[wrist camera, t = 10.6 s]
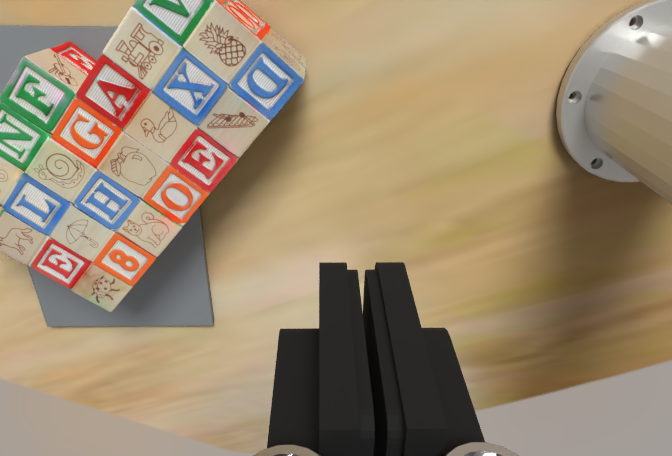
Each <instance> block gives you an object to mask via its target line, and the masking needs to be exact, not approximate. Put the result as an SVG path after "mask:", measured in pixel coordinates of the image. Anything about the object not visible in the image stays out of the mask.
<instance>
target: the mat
mask: <svg viewBox="0 0 672 456" xmlns="http://www.w3.org/2000/svg"><path fill="white" fill-rule="evenodd" d="M117 28H118V27H96V26H12V25H0V96H1V94H2V92H3V90H4V89H5V87H6V85H7V84H8V82H9V80H10V78H11V77H12V75H13V73H14V71H15V70H16V68H17V66H18V65H19V63H20V61H21V59H22V58H23V57H25V56H27V55H30V54H33V53H36V52H39V51H42V50H45V49H50V48H53V47H56V46H58V45H61V44H63V43H66V42H68V41H70V42H72V43H74V44H75V45H76V46H78V47H79V48H80V49H82V50H83V51H84V52H86V53H87V54H88V55H90V56H91V57H92V58H94V59H95V60H96V61H97V60H98V59H99V57H100V56H101V55H102V53H103V50H104V48H105V47H106V45H107V43H108V42H109V40H110V39H111V37H112V36H113V34H114V32H115V31H116V29H117ZM27 266H28V269H29V272H30V275H31V278H32V281H33V284H34V287H35V290H36V293H37V296H38V299H39V302H40V306H41V309H42V312H43V315H44V318H45V321H46V324H47V327H58V326H213V323H214V316H213V308H212V300H211V292H210V284H209V277H208V269H207V261H206V253H205V245H204V237H203V230H202V222H201V214H200V206H199V208H198V209H197V210H196V211H195V212H194V213H193V215H192V216H191V217H190V218H189V220H188V221H187V222H186V224H185V225H184V226H183V227H182V229H181V230H180V231H179V232H178V234H177V235H176V236H175V237H174V238H173V239H172V241H171V242H170V243H169V244H168V245H167V247H166V248H165V249H164V250H163V251H162V253H161V254H160V255H159V256H158V257H157V258H156V260H155V261H154V262H153V264H152V265H151V266H150V267H149V268H148V270H147V271H146V272H145V273H144V274H143V276H142V277H141V278H140V279H139V280H138V282H137V283H136V284H135V285H134V286H133V287H132V289H131V290H130V291H129V292H128V293H127V295H126V296H125V297H124V298H123V299H122V300H121V302H120V303H119V304H118V305H117V306H116V308H115V309H114V310H113V311H112V312H109V311H107V310H105V309H103V308H101V307H99V306H98V305H96V304H94V303H92V302H90V301H88V300H86V299H85V298H83V297H81V296H80V295H78V294H76V293H74V292H73V291H72V289H70V288H67V287H65V286H63V285H62V284H60V283H58V282H56V281H54V280H52V279H51V278H49V277H47V276H45V275H43V274H41V273H40V272H38V271H36V270H35V269H33V268H31V267H30V266H29V265H27Z"/></svg>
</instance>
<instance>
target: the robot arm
mask: <svg viewBox="0 0 672 456" xmlns="http://www.w3.org/2000/svg"><path fill="white" fill-rule="evenodd" d="M631 19H632V22H631V23H630V24H629V22H630V20H631ZM571 93H573V95H572V96H571V97H569V96H570V94H571ZM556 119H557V128H558V132H559V135H560V138H561V141H562V144H563V146H564V147H565V149H566V150H567V152H568V153H569V155H570V156H571V157H572V158H573V159H574V160H575V161H576V162H577V163H578V164H579V165H580V166H581V167H583V168H584V169H585V170H587V171H588V172H589V173H591V174H593V175H596V176H598V177H600V178H603V179H605V180H610V181H616V182H640V181H641V182H642V183H643V184H645V185H646V186H648V187H649V188H650V189H652V190H653V191H654V192H656V193H657V194H658V195H660V196H661V197H662V198H664V199H665V200H666V201H668V202H669V203H671V204H672V0H647V1H645V2H642V3H640V4H637V5H634V6H632V7H630V8H628V9H626V10H624V11H623V12H621V13H619V14H618V15H616V16H614V17H612V18H611V19H610V20H609V21H607V22H606V23H605V24H604V25H603V26H601V27H600V28H599V29H598V30H596V31H595V32H594V33H593V35H592V36H591V37H590V38H589V39H588V40H587V41H586V42H585V43H584V44H583V45H582V47H581V48H580V50H579V51H578V53H577V54H576V56H575V57H574V59H573V60H572V62H571V63H570V65H569V67H568V69H567V72H566V74H565V76H564V78H563V80H562V83H561V87H560V91H559V94H558V98H557V109H556ZM253 456H518V455H517V454H516V453H514V452H511V451H510V450H508V449H506V448H504V447H502V446H498V445H494V444H490V443H486V442H485V441H484V438H483V435H482V432H481V429H480V426H479V423H478V420H477V417H476V414H475V411H474V408H473V405H472V402H471V399H470V396H469V392H468V389H467V386H466V383H465V380H464V377H463V374H462V371H461V368H460V365H459V362H458V359H457V356H456V353H455V350H454V347H453V344H452V341H451V338H450V336H449V333H448V331H447V330H446V329H445V328H421V324H420V321H419V317H418V313H417V309H416V306H415V302H414V298H413V294H412V291H411V287H410V283H409V279H408V275H407V272H406V268H405V265H404V263H403V262H401V263H376V264H375V270H365V281H364V301H363V314H362V305H361V297H360V288H359V279H358V271H357V270H347V263H320V285H319V329H280V332H279V340H278V350H277V359H276V369H275V378H274V388H273V397H272V407H271V416H270V425H269V435H268V444H267V449H263V450H262V451H260V452H258V453H257V454H255V455H253Z"/></svg>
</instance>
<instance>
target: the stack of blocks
mask: <svg viewBox="0 0 672 456" xmlns="http://www.w3.org/2000/svg"><path fill="white" fill-rule="evenodd" d="M306 66H307V60H306V59H305V58H304V57H303V56H302V55H301V54H300V53H299V52H298V51H297V50H296V49H295V48H294V47H292V46H291V45H290V44H289V43H288V42H286V41H285V40H284V39H283V38H282V37H281V36H279V35H278V34H277V33H276V32H275V31H273V30H272V29H271V28H270V26H269V25H268V24H267V23H266V22H264V21H263V20H262V19H261V18H260V17H259V16H258V15H256V14H255V13H254V12H253V11H252V10H251V9H249V8H248V7H247V6H246V5H245V4H244V3H243V2H241V1H240V0H135V2H134V5H133V6H132V7H131V8H130V10H129V11H128V13H127V14H126V16H125V17H124V19H123V20H122V22H121V23H120V25H119V26H118V28H117V29H116V31H115V32H114V34H113V36H112V37H111V39H110V40H109V42H108V43H107V45H106V47H105V48H104V50H103V53H102V55H101V56H100V57H99V59H98V60H97V61H96V60H95V59H94V58H92V57H91V56H90V55H88V54H87V53H86V52H84V51H83V50H82V49H80V48H79V47H78V46H76V45H75V44H74V43H72V42H70V41H68V42H66V43H63V44H61V45H58V46H56V47H53V48H50V49H45V50H42V51H39V52H36V53H33V54H30V55H27V56H25V57H23V58H22V59H21V61H20V63H19V65H18V66H17V68H16V70H15V71H14V73H13V75H12V77H11V78H10V80H9V82H8V84H7V85H6V87H5V89H4V90H3V92H2V94H1V96H0V252H3V253H4V254H6V255H8V256H10V257H11V258H13V259H15V260H17V261H19V262H20V263H22V264H24V265H29V266H30V267H31V268H33V269H35V270H36V271H38V272H40V273H41V274H43V275H45V276H47V277H49V278H51V279H52V280H54V281H56V282H58V283H60V284H62V285H63V286H65V287H67V288H70V289H72V291H73V292H74V293H76V294H78V295H80V296H81V297H83V298H85V299H86V300H88V301H90V302H92V303H94V304H96V305H98V306H99V307H101V308H103V309H105V310H107V311H109V312H112V311H113V310H114V309H115V308H116V306H117V305H118V304H119V303H120V302H121V300H122V299H123V298H124V297H125V296H126V295H127V293H128V292H129V291H130V290H131V289H132V287H133V286H134V285H135V284H136V283H137V282H138V280H139V279H140V278H141V277H142V276H143V274H144V273H145V272H146V271H147V270H148V268H149V267H150V266H151V265H152V264H153V262H154V261H155V260H156V258H157V257H158V256H159V255H160V254H161V253H162V251H163V250H164V249H165V248H166V247H167V245H168V244H169V243H170V242H171V241H172V239H173V238H174V237H175V236H176V235H177V234H178V232H179V231H180V230H181V229H182V227H183V226H184V225H185V224H186V222H187V221H188V220H189V218H190V217H191V216H192V215H193V213H194V212H195V211H196V210H197V209H198V208H199V206H200V205H201V204H202V203H203V201H204V200H205V199H206V198H207V197H208V196H209V194H210V193H211V192H212V191H213V190H214V189H215V187H216V186H217V185H218V184H219V183H220V181H221V180H222V179H223V178H224V177H225V176H226V174H227V173H228V172H229V171H230V169H231V168H232V167H233V166H234V165H235V163H236V162H237V161H238V159H239V158H240V157H241V156H242V155H243V154H244V153H245V151H246V150H247V149H248V148H249V146H250V145H251V144H252V143H253V142H254V140H255V139H256V138H257V137H258V136H259V134H260V133H261V132H262V131H263V130H264V128H265V127H266V126H267V125H268V124H269V122H270V121H271V120H272V119H273V118H274V117H275V115H276V114H277V113H278V112H279V111H280V110H281V108H282V107H283V106H284V105H285V104H286V102H287V101H288V100H289V99H290V98H291V96H292V95H293V94H294V93H295V92H296V90H297V89H298V88H299V87H300V86H301V84H302V83H303V81H304V79H305V72H306V70H305V69H306Z"/></svg>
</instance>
